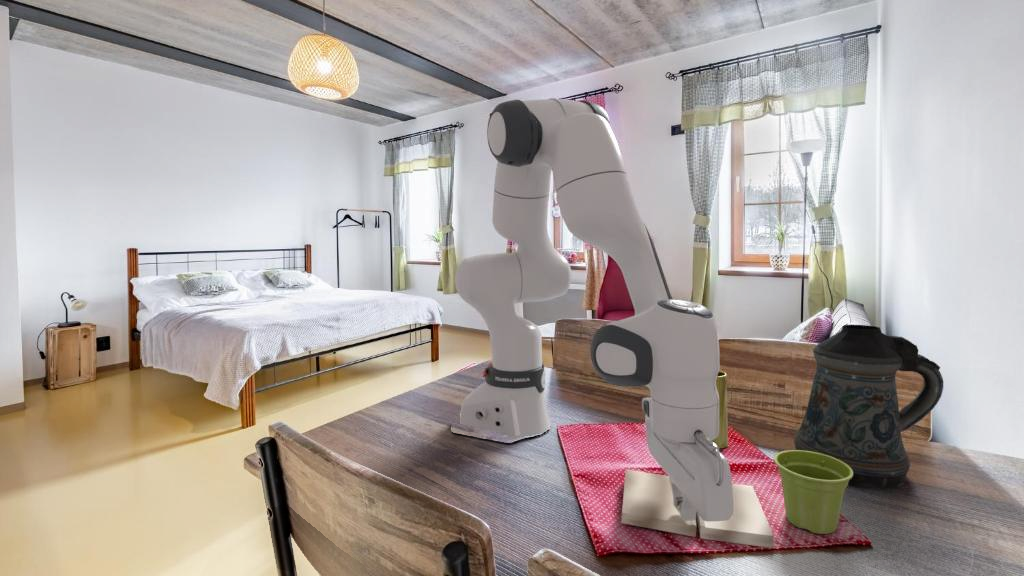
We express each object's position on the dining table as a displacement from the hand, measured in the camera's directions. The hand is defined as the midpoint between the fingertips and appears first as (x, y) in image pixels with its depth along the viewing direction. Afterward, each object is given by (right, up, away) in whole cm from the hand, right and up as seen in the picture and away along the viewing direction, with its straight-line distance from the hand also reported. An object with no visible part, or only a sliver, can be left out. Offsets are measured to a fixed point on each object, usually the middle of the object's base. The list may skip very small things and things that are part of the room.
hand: (684, 513), depth 65 cm
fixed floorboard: (+8, -2, +4) cm, 9 cm away
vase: (+16, 0, +28) cm, 32 cm away
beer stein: (+37, 0, +17) cm, 40 cm away
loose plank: (-2, -2, +6) cm, 7 cm away
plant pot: (+19, -2, +2) cm, 19 cm away
